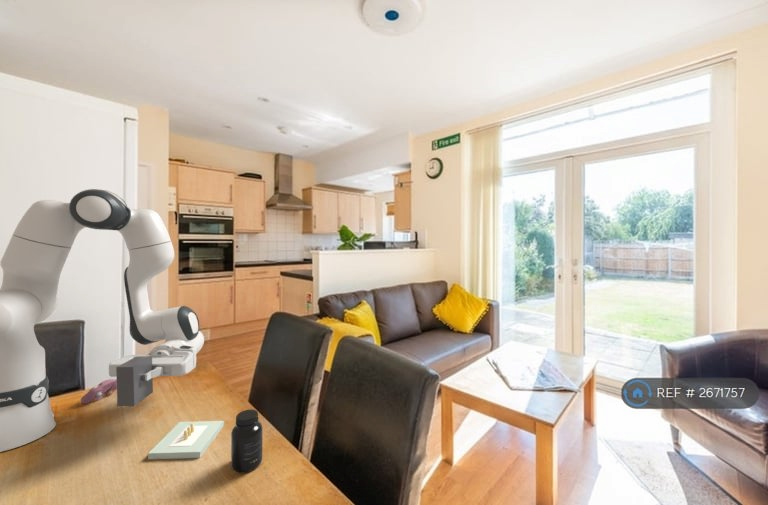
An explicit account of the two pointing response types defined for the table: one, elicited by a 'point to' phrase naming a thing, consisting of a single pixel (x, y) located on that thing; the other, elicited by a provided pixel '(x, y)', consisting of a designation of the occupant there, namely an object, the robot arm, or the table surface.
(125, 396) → the block
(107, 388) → the video game controller
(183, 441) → the pin board
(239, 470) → the supplement bottle
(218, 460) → the table surface
